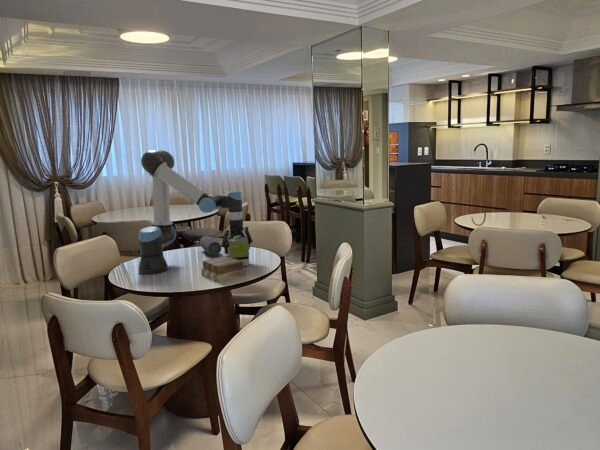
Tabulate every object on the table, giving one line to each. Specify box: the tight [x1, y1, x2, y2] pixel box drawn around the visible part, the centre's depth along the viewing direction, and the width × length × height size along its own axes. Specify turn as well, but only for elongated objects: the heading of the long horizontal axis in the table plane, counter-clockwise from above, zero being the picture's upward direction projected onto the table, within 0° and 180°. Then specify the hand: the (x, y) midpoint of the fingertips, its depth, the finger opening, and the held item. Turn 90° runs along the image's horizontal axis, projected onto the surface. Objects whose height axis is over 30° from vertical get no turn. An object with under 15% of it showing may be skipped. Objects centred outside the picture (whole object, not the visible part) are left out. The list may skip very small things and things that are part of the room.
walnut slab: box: [202, 255, 245, 275], centre depth 222 cm, size 17×14×4 cm
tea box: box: [227, 235, 250, 267], centre depth 241 cm, size 15×10×15 cm, turn 19°
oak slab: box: [201, 267, 246, 283], centre depth 222 cm, size 18×15×4 cm
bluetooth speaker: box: [199, 235, 222, 256], centre depth 271 cm, size 23×9×10 cm, turn 25°
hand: (237, 257), depth 242 cm, fingers closed on tea box, 12 cm apart
